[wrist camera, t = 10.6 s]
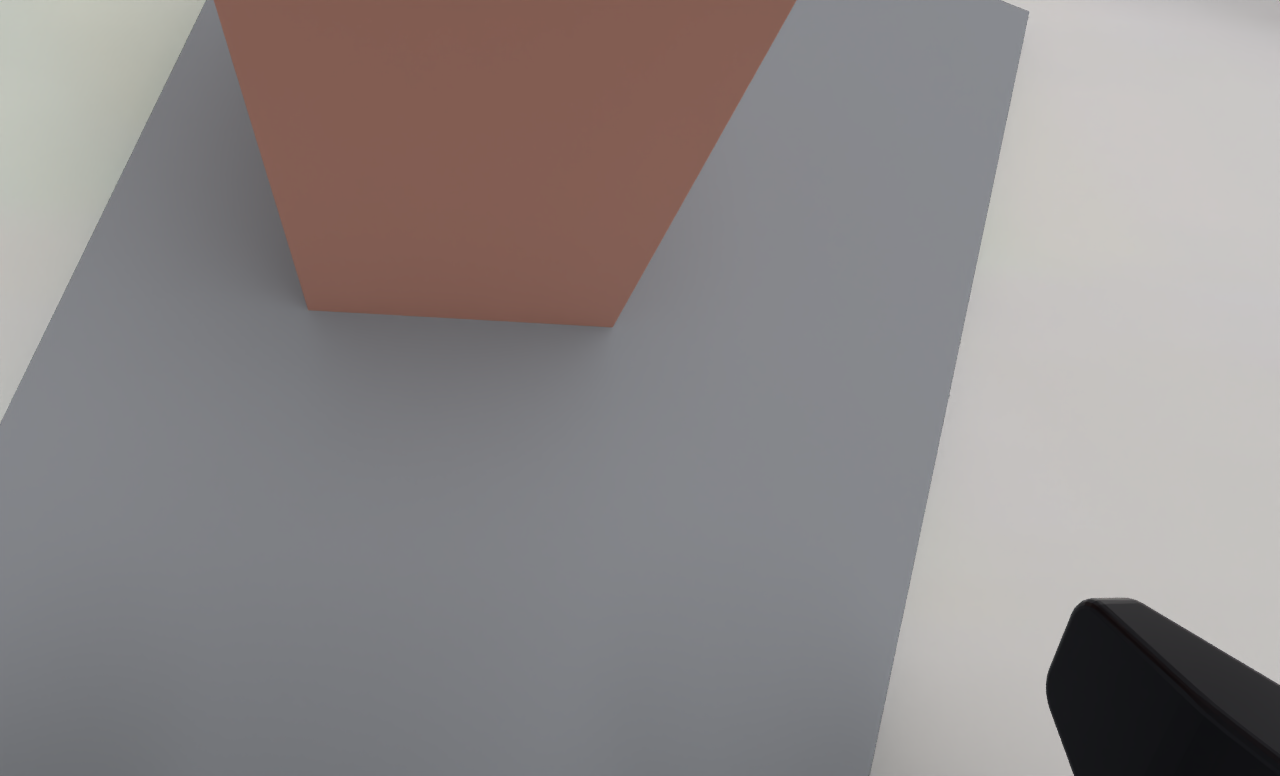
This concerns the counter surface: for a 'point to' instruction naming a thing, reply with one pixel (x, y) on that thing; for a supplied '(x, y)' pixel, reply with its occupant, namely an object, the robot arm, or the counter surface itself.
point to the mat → (505, 455)
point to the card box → (487, 142)
